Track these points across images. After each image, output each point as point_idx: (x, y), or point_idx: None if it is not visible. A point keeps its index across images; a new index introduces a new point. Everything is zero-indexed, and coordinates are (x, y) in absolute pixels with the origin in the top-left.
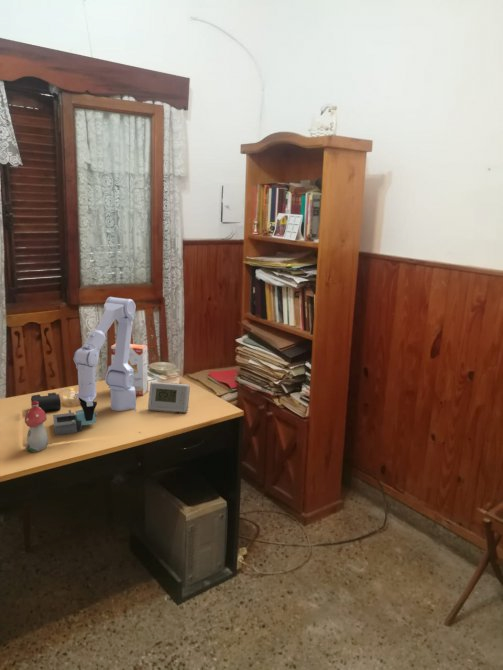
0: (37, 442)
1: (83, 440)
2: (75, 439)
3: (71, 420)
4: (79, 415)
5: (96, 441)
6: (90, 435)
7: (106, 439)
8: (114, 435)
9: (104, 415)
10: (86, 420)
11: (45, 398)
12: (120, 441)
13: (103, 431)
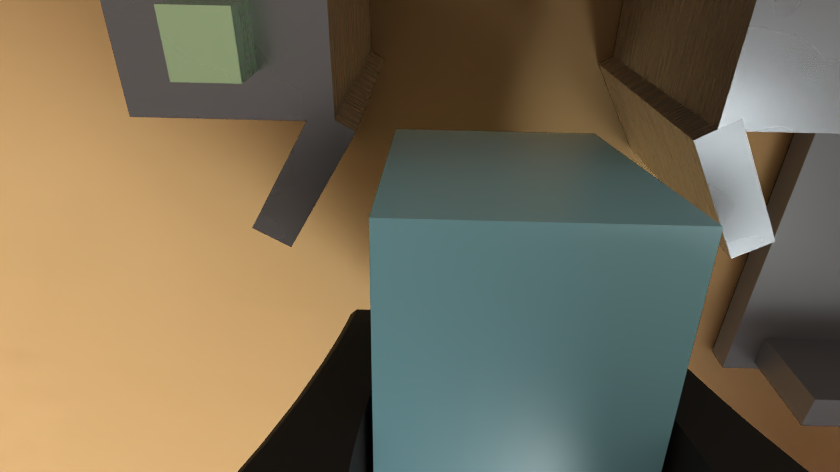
0: None
1: (41, 125)
2: (82, 5)
3: (680, 17)
4: (371, 278)
5: (10, 276)
6: (211, 235)
7: (70, 374)
8: (173, 448)
9: (786, 450)
10: (350, 322)
11: None
12: (17, 468)
13: (307, 379)
